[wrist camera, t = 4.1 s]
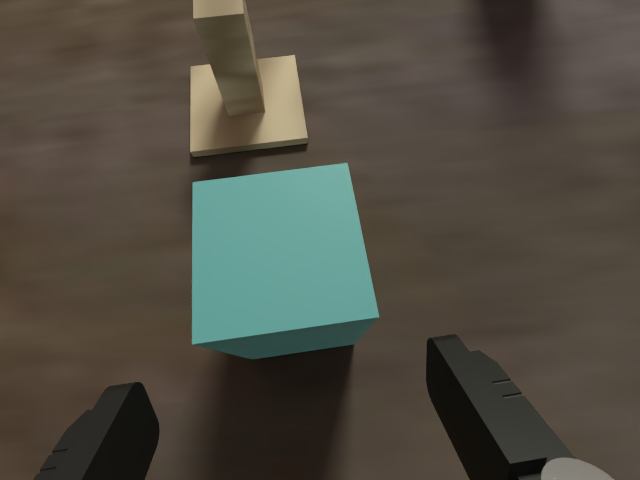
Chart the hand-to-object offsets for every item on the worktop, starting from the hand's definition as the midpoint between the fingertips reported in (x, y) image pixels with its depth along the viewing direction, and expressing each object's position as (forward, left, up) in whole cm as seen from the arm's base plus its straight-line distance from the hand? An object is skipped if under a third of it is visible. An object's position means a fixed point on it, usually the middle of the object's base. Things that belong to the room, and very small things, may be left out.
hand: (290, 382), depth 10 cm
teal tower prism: (0, -4, -9) cm, 10 cm away
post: (+2, -19, -9) cm, 21 cm away
